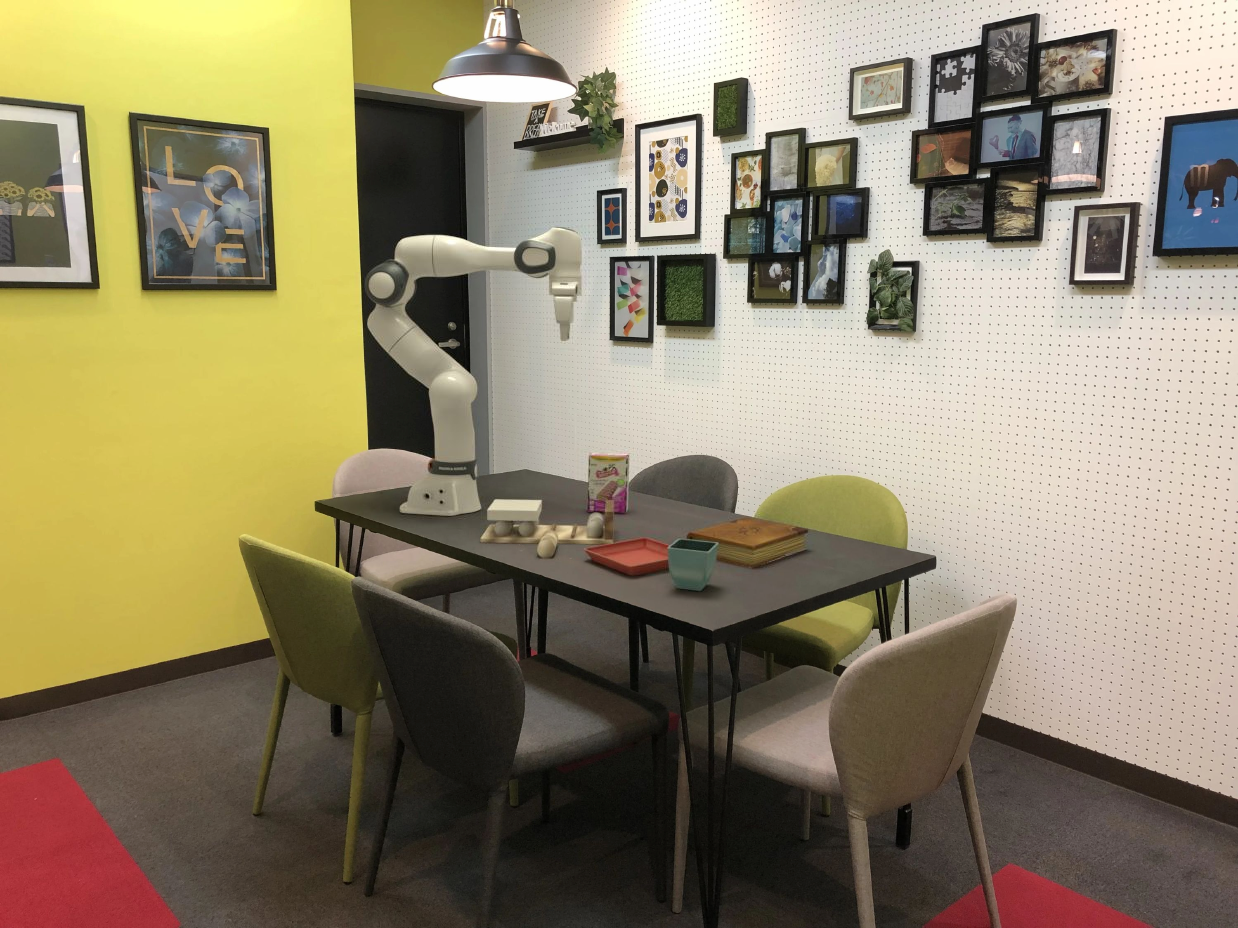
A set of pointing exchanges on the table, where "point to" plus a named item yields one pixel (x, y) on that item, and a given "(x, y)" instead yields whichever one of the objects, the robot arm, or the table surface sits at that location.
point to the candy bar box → (608, 481)
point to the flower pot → (692, 563)
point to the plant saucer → (632, 556)
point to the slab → (514, 510)
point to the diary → (751, 540)
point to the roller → (547, 544)
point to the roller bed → (566, 534)
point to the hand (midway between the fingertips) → (565, 340)
